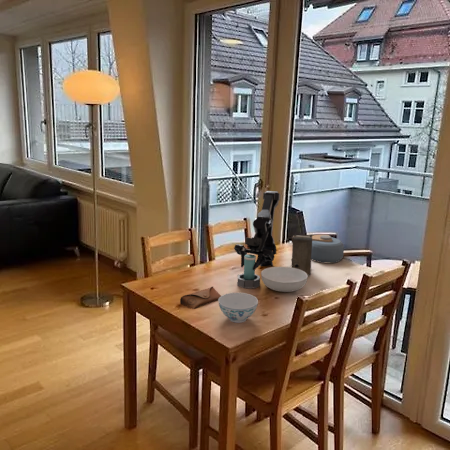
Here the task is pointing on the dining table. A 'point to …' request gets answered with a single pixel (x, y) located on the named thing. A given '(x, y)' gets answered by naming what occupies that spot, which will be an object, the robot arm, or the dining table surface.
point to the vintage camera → (302, 253)
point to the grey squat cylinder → (326, 249)
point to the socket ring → (248, 282)
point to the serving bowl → (284, 278)
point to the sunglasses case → (200, 298)
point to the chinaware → (238, 306)
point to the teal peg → (249, 267)
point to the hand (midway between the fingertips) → (247, 268)
